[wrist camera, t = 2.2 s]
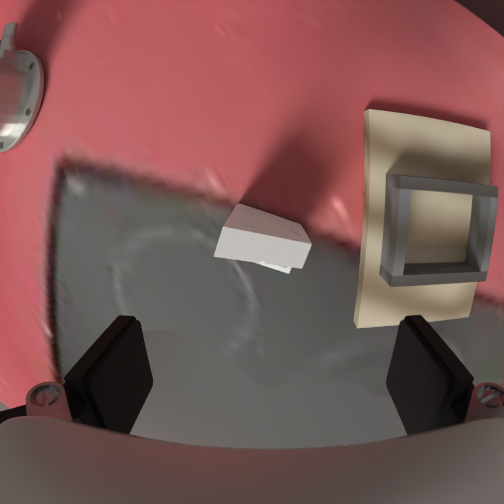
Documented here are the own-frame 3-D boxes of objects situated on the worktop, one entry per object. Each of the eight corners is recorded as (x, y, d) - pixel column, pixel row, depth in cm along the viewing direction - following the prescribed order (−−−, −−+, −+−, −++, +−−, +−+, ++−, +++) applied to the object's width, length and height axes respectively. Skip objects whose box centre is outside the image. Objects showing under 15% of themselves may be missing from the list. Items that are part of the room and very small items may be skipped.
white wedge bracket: (184, 190, 24) (223, 226, 17) (283, 214, 29) (344, 250, 22) (172, 232, 25) (205, 284, 18) (271, 248, 30) (325, 293, 23)
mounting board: (363, 111, 24) (381, 103, 19) (481, 131, 23) (508, 130, 19) (353, 320, 29) (365, 344, 25) (462, 310, 29) (482, 329, 24)
